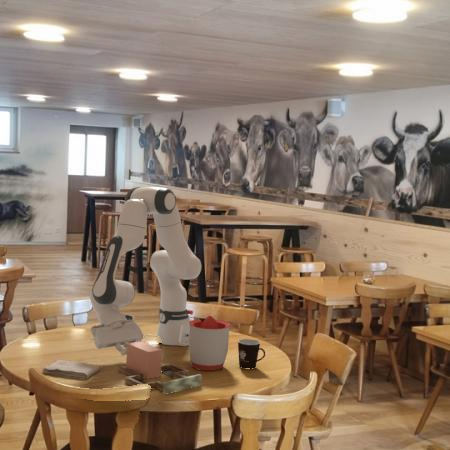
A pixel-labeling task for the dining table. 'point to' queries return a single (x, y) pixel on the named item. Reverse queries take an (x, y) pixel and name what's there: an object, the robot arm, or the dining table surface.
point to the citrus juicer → (208, 343)
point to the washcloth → (71, 369)
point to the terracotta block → (144, 359)
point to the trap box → (169, 386)
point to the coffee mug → (249, 352)
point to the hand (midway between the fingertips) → (126, 354)
